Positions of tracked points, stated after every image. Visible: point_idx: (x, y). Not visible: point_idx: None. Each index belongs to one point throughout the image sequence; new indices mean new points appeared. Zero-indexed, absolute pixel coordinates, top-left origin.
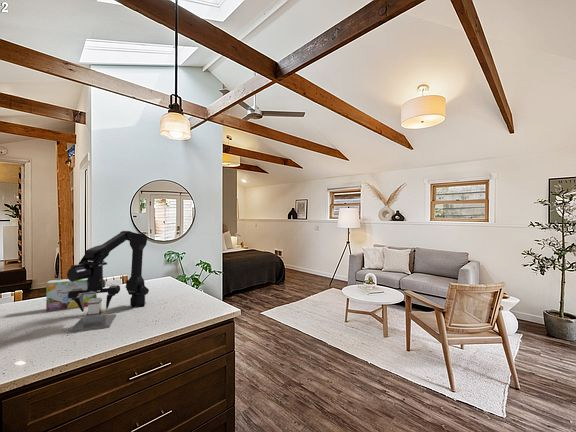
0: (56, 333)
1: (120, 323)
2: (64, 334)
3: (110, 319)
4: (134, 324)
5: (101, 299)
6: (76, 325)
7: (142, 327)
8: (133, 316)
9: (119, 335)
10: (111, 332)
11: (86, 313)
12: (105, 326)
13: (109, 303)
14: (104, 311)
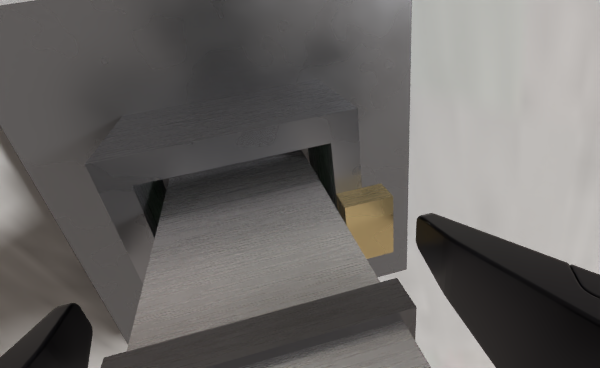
0: (8, 337)
1: (464, 191)
2: (107, 348)
3: (386, 146)
4: (553, 220)
5: (403, 319)
6: (101, 260)
7: (587, 266)
8: (570, 25)
9: (472, 348)
10: (426, 320)
11: (131, 256)
12: (378, 272)
13: (506, 246)
14: (384, 245)
